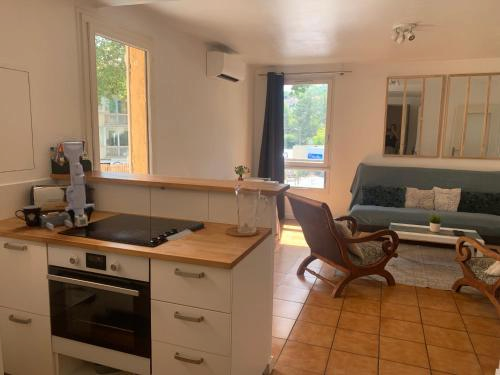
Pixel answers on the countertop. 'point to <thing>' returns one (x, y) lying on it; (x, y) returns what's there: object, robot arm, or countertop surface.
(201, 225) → the kitchen knife
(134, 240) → the countertop surface
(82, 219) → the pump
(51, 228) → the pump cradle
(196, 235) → the countertop surface
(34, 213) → the coffee mug
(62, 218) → the block
